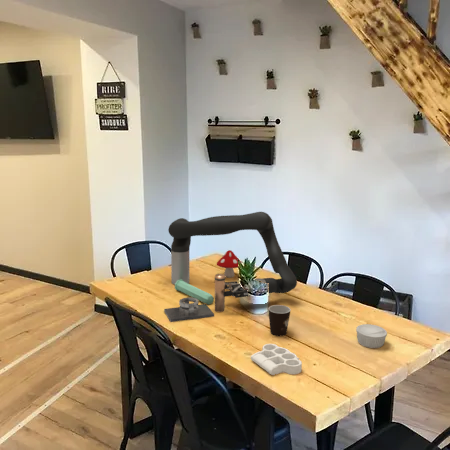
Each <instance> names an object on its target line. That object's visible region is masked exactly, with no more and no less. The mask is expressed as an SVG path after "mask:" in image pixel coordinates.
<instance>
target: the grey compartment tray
mask: <svg viewBox="0 0 450 450" xmlns="http://www.w3.org/2000/svg"><path fill="white" fill-rule="evenodd" d="M250 360H251V362H252V361H253V362H254V363H256V364H257V365H258V366H259V367H260V368H262V369H263V370H264V371H266V372H267V373H268V374H269V375H271V376H276V375H278V374H282V373H285V374H288V375H298V374H300V373H302V365H303V363H302V360H300V357H298V356H297V355H296V353H295V352H291V351H290V350H289V349H287V348H285V347H281V346H278V345H277V344H276V343H265V344H264V345H262V348H261V350H259V351H257V352H255V353H253V354H251V356H250ZM275 374H276V375H275Z"/></svg>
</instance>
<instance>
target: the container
mask: <svg viewBox="0 0 450 450" xmlns="http://www.w3.org/2000/svg"><path fill="white" fill-rule="evenodd" d="M174 289H175V290H176V291H177V292H180V293H183V294H185V295H187V296H188V297H190V298H196V299H198V301H199V302H201V303H202V304H206V305H207V306H208V305H211V304H213V302H215V297H214V296H213V295H212V294H211V293H210V292H207V291H204V290H203V289H200V288H198V287H196V286H194V285H192V284H190V283H189V284H188V283H186V282H184V281H183V280H182V279H181V280H177V282H176V283H175V285H174Z"/></svg>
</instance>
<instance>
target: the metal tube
mask: <svg viewBox="0 0 450 450" xmlns="http://www.w3.org/2000/svg"><path fill="white" fill-rule="evenodd" d="M225 282H226V277H225V275H224V273H217V274H215V275H214V312H216V313H224V312H225V309H226V307H225V306H226V305H225V301H226V300H225V299H226V297H224V296H223V292H224V291H226V289H225Z"/></svg>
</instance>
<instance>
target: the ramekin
mask: <svg viewBox="0 0 450 450" xmlns="http://www.w3.org/2000/svg"><path fill="white" fill-rule="evenodd" d="M355 330H356V339H357V342H358V344H359V345H361V346H363V347H365V348H369V349H370V348H371V349H378V348H381V347H382V346H384V344H385V341H386V338H387V335H388V332H387V330H386V329H385V328H383V327H382V326H379V325H376V324H371V323H370V324H369V323H364V324H359V325H357V327H356V329H355Z"/></svg>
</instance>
